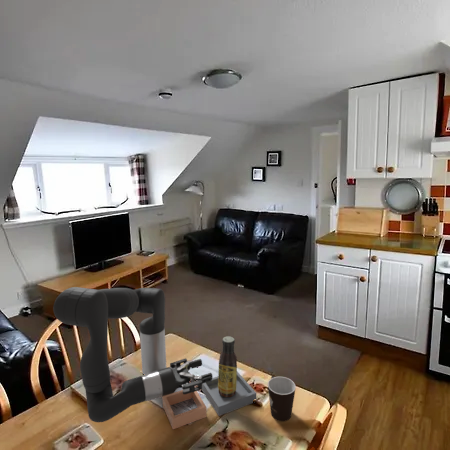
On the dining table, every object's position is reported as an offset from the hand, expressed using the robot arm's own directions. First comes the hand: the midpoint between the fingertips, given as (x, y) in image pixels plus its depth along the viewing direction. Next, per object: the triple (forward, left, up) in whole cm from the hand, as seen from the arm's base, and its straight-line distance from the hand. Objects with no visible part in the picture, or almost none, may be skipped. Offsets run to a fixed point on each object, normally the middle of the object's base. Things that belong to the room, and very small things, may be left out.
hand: (206, 368), depth 106 cm
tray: (0, +8, -12) cm, 15 cm away
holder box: (0, -8, -12) cm, 15 cm away
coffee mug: (+14, +20, -13) cm, 27 cm away
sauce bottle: (0, +8, -11) cm, 14 cm away
